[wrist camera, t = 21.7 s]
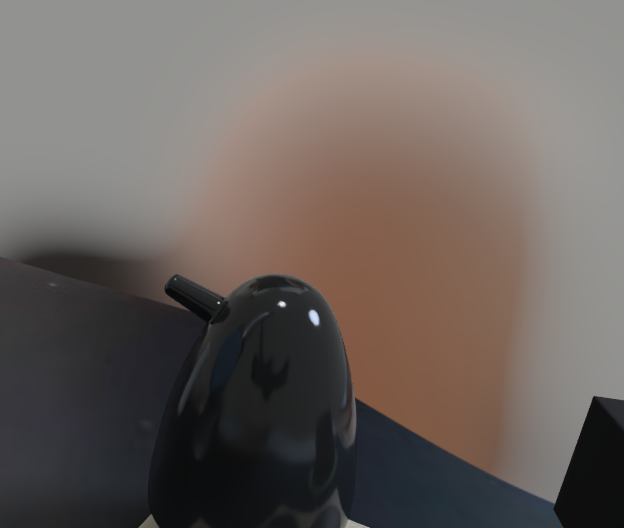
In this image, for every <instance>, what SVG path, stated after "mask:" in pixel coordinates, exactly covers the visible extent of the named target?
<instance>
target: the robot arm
mask: <svg viewBox="0 0 624 528" xmlns="http://www.w3.org/2000/svg"><path fill="white" fill-rule="evenodd" d="M553 510H554V511H555V513H556V515H557V517H558V519H559V520H560V522H561V524H562V526H563V528H624V400H617V399H611V398H604V397H597V396H594V397H593V399H592V402H591V405H590V408H589V411H588V413H587V416H586V419H585V422H584V425H583V427H582V430H581V433H580V436H579V439H578V441H577V444H576V447H575V450H574V453H573V455H572V458H571V461H570V464H569V467H568V469H567V472H566V475H565V478H564V481H563V484H562V486H561V489H560V492H559V495H558V498H557V500H556V503H555V506H554V509H553Z"/></svg>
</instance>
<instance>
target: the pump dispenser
mask: <svg viewBox="0 0 624 528" xmlns="http://www.w3.org/2000/svg"><path fill="white" fill-rule="evenodd" d="M165 292H166V294H167V295H168V296H170V297H171V298H173V299H174V300H175V301H177V302H179V303H180V304H181V305H183V306H184V307H186V308H187V309H188V310H190V311H191V312H193V313H194V314H196V315H197V316H198V317H200V318H201V319H203V320H204V321H205V322H206V325H205V327H204V328H203V330H202V332H201V334H200V335H199V337H198V338H197V340H196V342H195V343H194V345H193V347H192V349H191V350H190V352H189V354H188V356H187V358H186V360H185V362H184V364H183V366H182V368H181V370H180V372H179V375H178V377H177V379H176V382H175V384H174V386H173V389H172V391H171V394H170V397H169V399H168V402H167V405H166V408H165V411H164V414H163V417H162V421H161V424H160V428H159V432H158V435H157V439H156V443H155V447H154V451H153V456H152V460H151V465H150V471H149V480H148V503H149V508H150V511H151V514H152V516H153V518H154V520H155V522H156V524H157V525H158V528H346V525H347V523H348V520H349V516H350V512H351V507H352V502H353V496H354V488H355V476H356V460H357V418H356V406H355V397H354V390H353V383H352V377H351V372H350V367H349V362H348V358H347V354H346V349H345V345H344V341H343V338H342V335H341V331H340V329H339V326H338V323H337V320H336V318H335V315H334V313H333V311H332V309H331V307H330V305H329V303H328V302H327V300H326V299H325V298H324V296H323V295H322V294H321V293H320V292H319V291H318V290H317V289H316V288H314V287H313V286H312V285H310V284H309V283H307V282H305V281H304V280H302V279H299V278H297V277H294V276H290V275H286V274H266V275H261V276H258V277H254V278H252V279H250V280H248V281H246V282H244V283H243V284H241V285H240V286H238V287H237V288H236V289H235V290H234V291H233V292H232V293H230V294H229V295H228V296H227V297H223V296H221V295H219V294H217V293H215V292H213V291H211V290H209V289H207V288H205V287H203V286H201V285H199V284H197V283H195V282H193V281H191V280H189V279H187V278H185V277H183V276H181V275H178V274H174V275H172V276H171V277H170V278H169V280H168V281H167V283H166V285H165Z"/></svg>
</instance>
